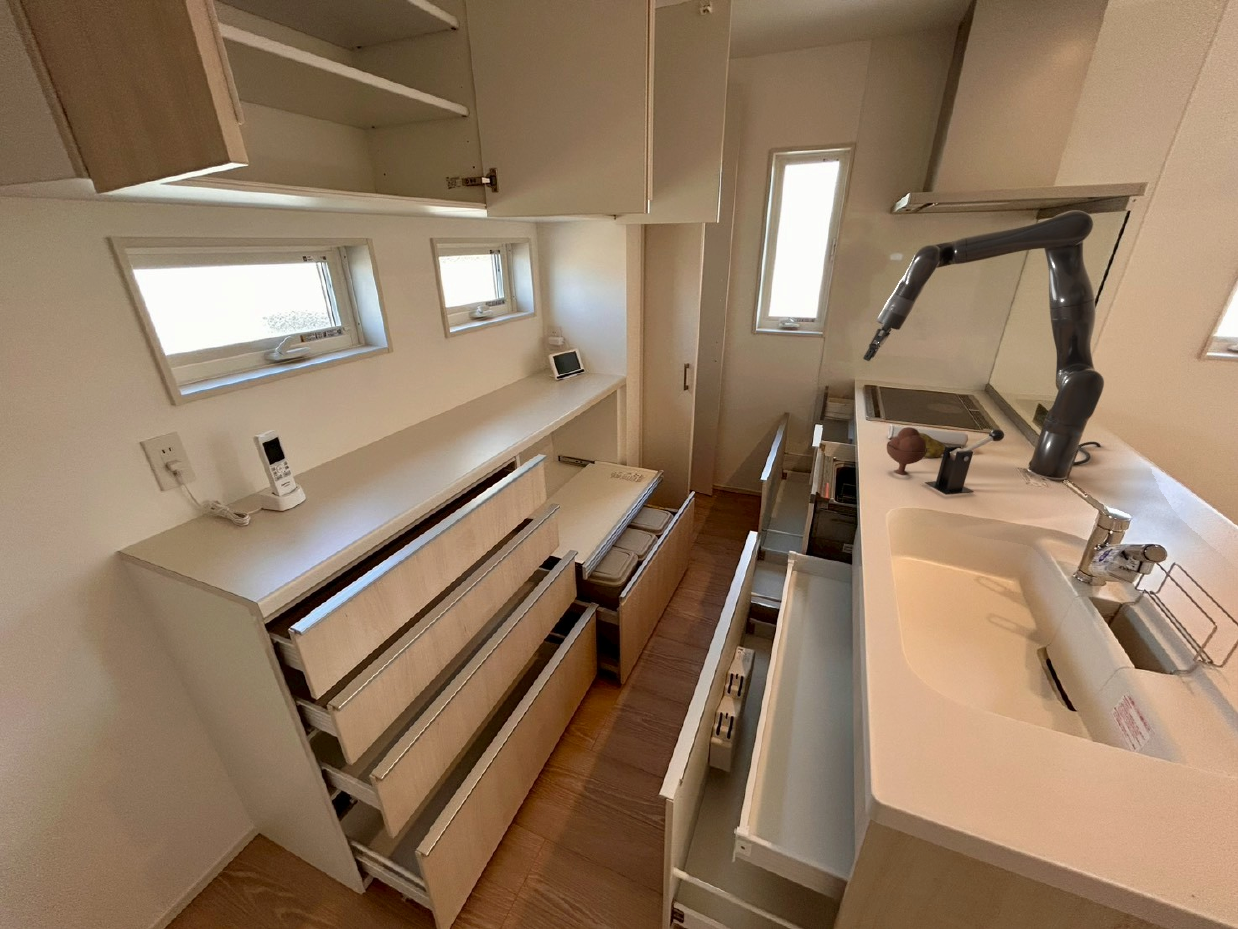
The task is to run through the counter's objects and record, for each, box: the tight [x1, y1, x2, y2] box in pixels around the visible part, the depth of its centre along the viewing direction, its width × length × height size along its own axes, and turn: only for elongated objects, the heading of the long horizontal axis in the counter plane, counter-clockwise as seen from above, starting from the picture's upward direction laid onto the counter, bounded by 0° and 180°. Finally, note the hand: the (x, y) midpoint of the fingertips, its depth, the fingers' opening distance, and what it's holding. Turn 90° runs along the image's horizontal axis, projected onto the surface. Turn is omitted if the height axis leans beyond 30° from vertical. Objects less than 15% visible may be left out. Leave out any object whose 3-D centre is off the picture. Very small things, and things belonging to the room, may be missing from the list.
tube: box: [887, 424, 969, 447], centre depth 179 cm, size 5×5×25 cm
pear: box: [919, 432, 947, 459], centre depth 166 cm, size 8×13×8 cm, turn 72°
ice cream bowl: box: [886, 426, 928, 476], centre depth 150 cm, size 11×11×15 cm
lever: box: [950, 428, 1005, 460], centre depth 138 cm, size 15×3×3 cm, turn 100°
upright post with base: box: [924, 445, 974, 496], centre depth 140 cm, size 9×8×13 cm
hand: (868, 358), depth 165 cm, fingers open, 8 cm apart
